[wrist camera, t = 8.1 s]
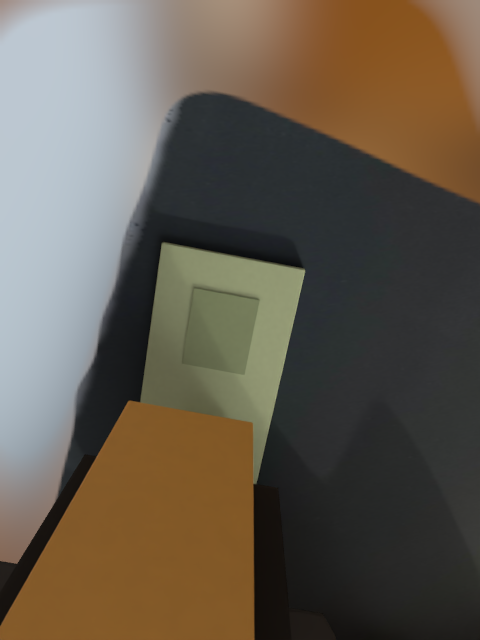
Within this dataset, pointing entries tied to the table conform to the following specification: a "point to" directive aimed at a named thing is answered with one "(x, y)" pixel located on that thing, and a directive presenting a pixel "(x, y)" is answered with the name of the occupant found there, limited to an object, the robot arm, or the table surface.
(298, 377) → the table surface
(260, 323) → the board
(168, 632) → the orange block
